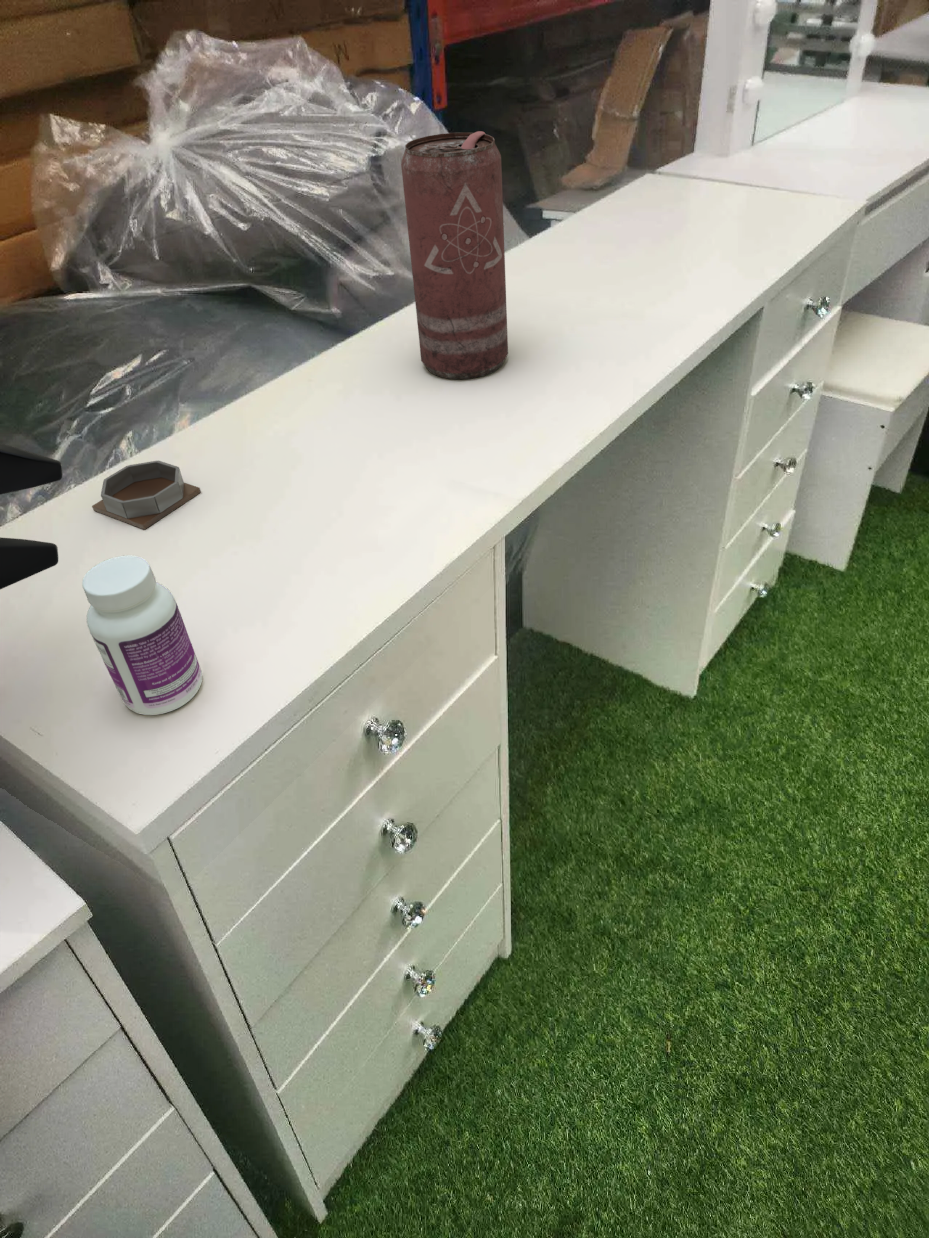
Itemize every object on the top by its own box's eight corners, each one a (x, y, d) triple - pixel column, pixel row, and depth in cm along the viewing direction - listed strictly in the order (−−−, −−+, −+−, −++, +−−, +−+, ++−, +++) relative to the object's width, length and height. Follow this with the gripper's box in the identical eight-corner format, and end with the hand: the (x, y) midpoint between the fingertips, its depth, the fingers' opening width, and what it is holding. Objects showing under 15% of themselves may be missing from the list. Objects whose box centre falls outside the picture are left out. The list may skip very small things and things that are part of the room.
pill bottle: (215, 662, 60) (175, 547, 53) (188, 719, 55) (142, 602, 49) (140, 660, 60) (92, 547, 54) (108, 717, 56) (53, 601, 50)
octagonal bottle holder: (144, 530, 73) (136, 508, 72) (93, 510, 76) (85, 490, 75) (201, 492, 77) (195, 471, 76) (150, 475, 80) (143, 455, 79)
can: (526, 352, 95) (521, 131, 81) (477, 388, 89) (463, 155, 75) (456, 338, 100) (440, 125, 86) (404, 371, 94) (378, 148, 80)
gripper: (-444, 437, 31) (42, 453, 37) (-280, 277, 45) (55, 307, 50) (-342, 676, 37) (59, 658, 43) (-226, 472, 51) (66, 479, 57)
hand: (60, 509), depth 48 cm, fingers open, 9 cm apart
